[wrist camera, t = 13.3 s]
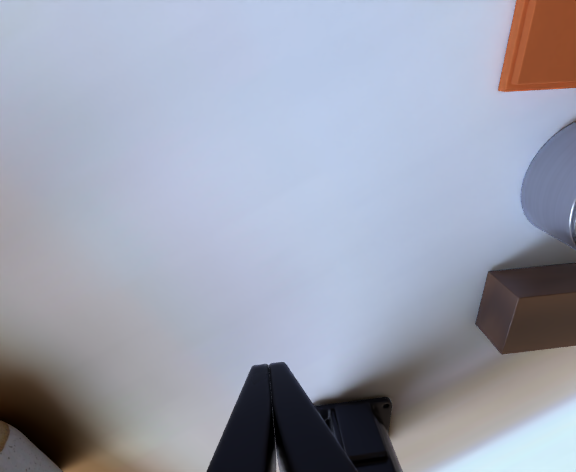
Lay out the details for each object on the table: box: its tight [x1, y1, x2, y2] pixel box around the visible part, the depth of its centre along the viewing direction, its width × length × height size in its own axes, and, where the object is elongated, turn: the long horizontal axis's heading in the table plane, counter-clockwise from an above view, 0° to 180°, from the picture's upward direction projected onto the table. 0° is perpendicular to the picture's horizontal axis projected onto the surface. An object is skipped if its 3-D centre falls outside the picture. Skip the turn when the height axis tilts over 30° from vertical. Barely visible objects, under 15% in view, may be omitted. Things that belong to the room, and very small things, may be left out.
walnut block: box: [475, 263, 576, 354], centre depth 24 cm, size 4×8×3 cm, turn 92°
